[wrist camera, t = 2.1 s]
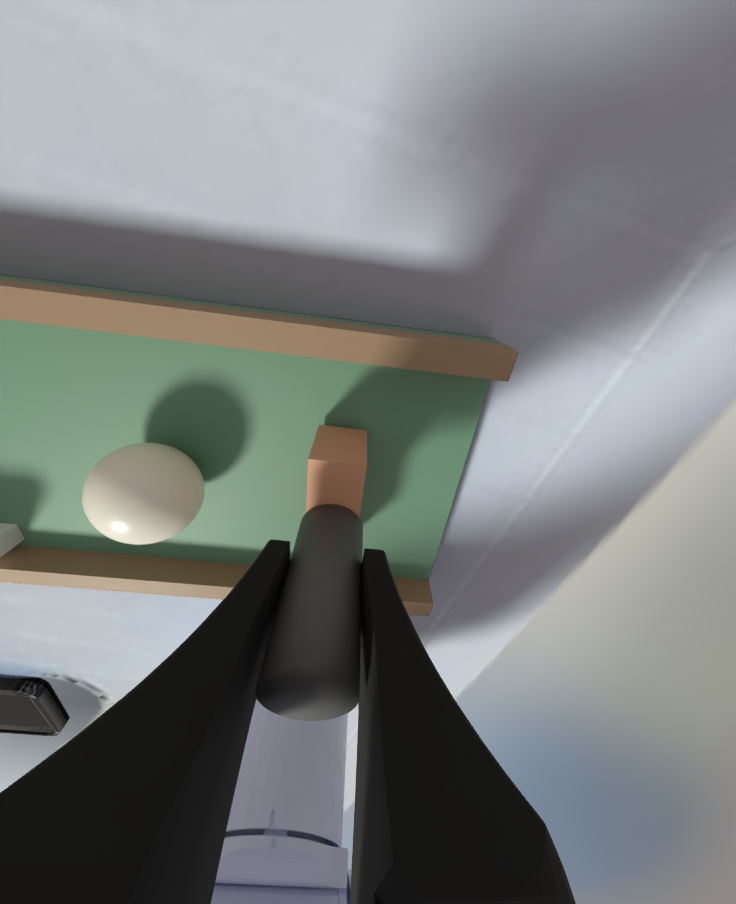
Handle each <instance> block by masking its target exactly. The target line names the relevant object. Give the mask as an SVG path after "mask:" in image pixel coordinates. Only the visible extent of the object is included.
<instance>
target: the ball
mask: <svg viewBox="0 0 736 904" xmlns="http://www.w3.org/2000/svg"><path fill="white" fill-rule="evenodd" d="M204 494H205V486H204V480H203V477H202V474H201V472H200V470H199V468H198V466H197V465H196V464H195V462H194V461H193V460H192V459H191V458H190V457H189V456H187V455H186V454H185V453H183V452H181V451H180V450H178V449H176V448H174V447H171V446H168V445H164V444H159V443H136V444H132V445H127V446H124V447H121V448H119V449H116V450H114V451H113V452H111V453H109V454H107V455H106V456H105V457H103V458H102V459H101V460H100V461H99V462H97V464H96V465H95V466H94V467H93V468H92V470H91V471H90V473H89V474H88V476H87V478H86V480H85V483H84V486H83V491H82V504H83V508H84V512H85V514H86V516H87V518H88V520H89V521H90V523H91V524H92V525H93V526H94V527H95V528H96V529H97V530H98V531H99V532H100V533H102V534H103V535H105V536H107V537H108V538H110V539H113V540H115V541H118V542H121V543H126V544H135V545H143V544H152V543H156V542H160V541H164V540H166V539H168V538H171V537H173V536H175V535H176V534H178V533H179V532H181V531H183V530H184V529H185V528H186V527H187V526H188V525H189V524H190V523H191V522H192V521H193V520H194V519H195V517H196V516H197V514H198V513H199V511H200V509H201V506H202V504H203V500H204Z"/></svg>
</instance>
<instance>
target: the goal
mask: <svg viewBox="0 0 736 904" xmlns="http://www.w3.org/2000/svg"><path fill="white" fill-rule="evenodd" d="M23 540H24V537H23V535H22V533H21V531H20V529H19V527H18V526H17V524H7V523H0V558H1V557H2V556H3V555H5V554H6V553H7V552H8V551H10V550H11V549H12V548H14V547H15V546H16V545H18V544H19V543H20V542H21V541H23Z"/></svg>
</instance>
